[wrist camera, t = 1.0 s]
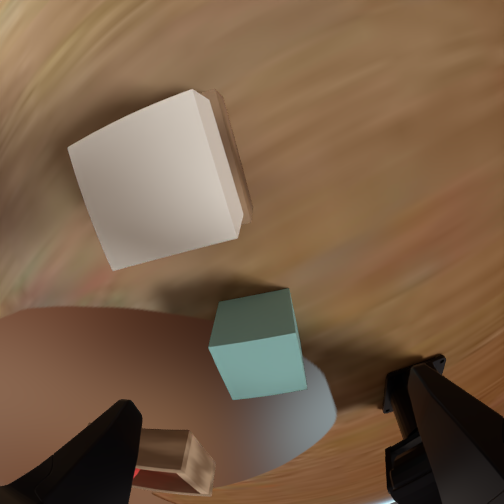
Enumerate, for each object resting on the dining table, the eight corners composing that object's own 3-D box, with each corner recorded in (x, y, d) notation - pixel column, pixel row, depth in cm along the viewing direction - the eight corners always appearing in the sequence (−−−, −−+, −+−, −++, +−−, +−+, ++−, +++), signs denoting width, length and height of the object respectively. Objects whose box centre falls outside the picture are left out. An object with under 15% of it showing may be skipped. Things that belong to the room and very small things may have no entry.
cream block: (243, 214, 15) (237, 238, 11) (140, 243, 15) (112, 271, 12) (209, 99, 12) (192, 89, 9) (105, 142, 13) (67, 147, 10)
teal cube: (300, 341, 22) (307, 389, 17) (237, 352, 22) (232, 399, 18) (288, 287, 20) (295, 332, 15) (219, 301, 20) (208, 347, 16)
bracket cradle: (215, 462, 30) (211, 496, 25) (122, 455, 32) (112, 482, 27) (189, 429, 27) (180, 469, 22) (89, 422, 29) (75, 452, 24)
